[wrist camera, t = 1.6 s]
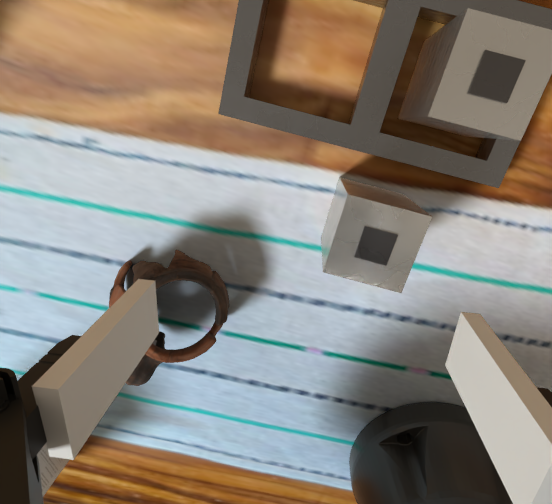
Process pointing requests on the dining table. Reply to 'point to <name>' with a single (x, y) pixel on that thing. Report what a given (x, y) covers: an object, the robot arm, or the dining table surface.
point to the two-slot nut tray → (373, 87)
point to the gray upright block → (480, 77)
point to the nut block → (372, 235)
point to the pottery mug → (177, 270)
